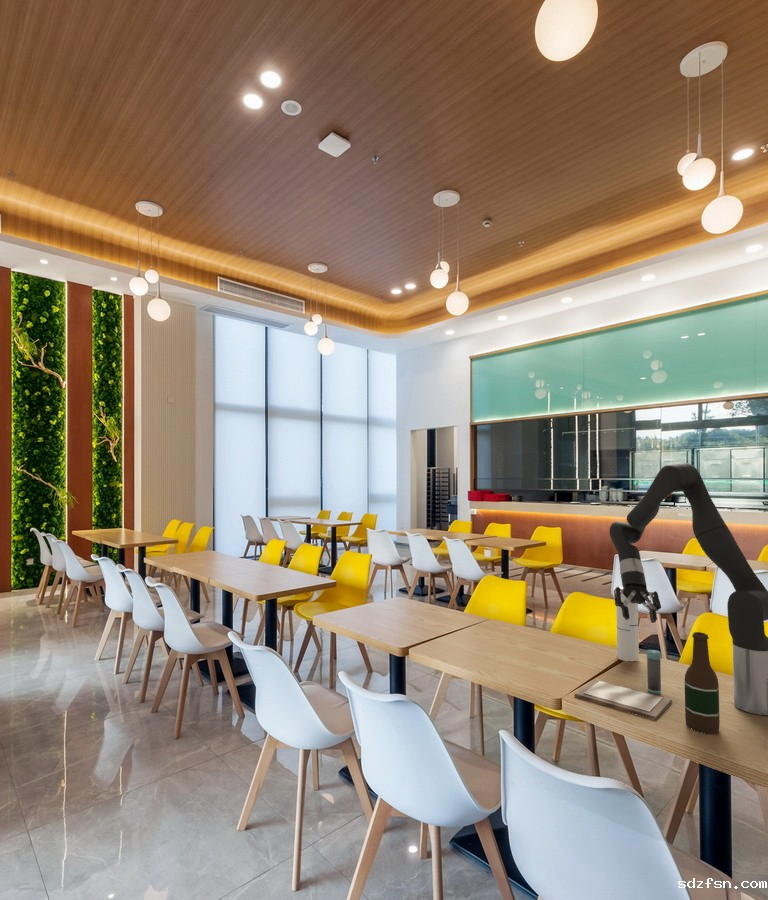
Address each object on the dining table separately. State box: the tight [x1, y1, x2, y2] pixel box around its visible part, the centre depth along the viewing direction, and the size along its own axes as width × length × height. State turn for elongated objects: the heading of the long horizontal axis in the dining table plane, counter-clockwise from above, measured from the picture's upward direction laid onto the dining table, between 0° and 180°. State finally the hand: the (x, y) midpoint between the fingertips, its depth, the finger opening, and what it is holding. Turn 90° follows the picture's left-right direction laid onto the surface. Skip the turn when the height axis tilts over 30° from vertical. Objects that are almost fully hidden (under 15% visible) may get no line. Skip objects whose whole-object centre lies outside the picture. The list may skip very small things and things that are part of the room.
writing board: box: [574, 678, 673, 721], centre depth 152 cm, size 22×16×1 cm
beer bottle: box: [684, 631, 721, 735], centre depth 136 cm, size 8×8×24 cm
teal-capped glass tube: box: [646, 649, 662, 695], centre depth 159 cm, size 4×4×12 cm
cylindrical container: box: [615, 586, 640, 662], centre depth 190 cm, size 7×7×25 cm
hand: (640, 620), depth 172 cm, fingers open, 8 cm apart
